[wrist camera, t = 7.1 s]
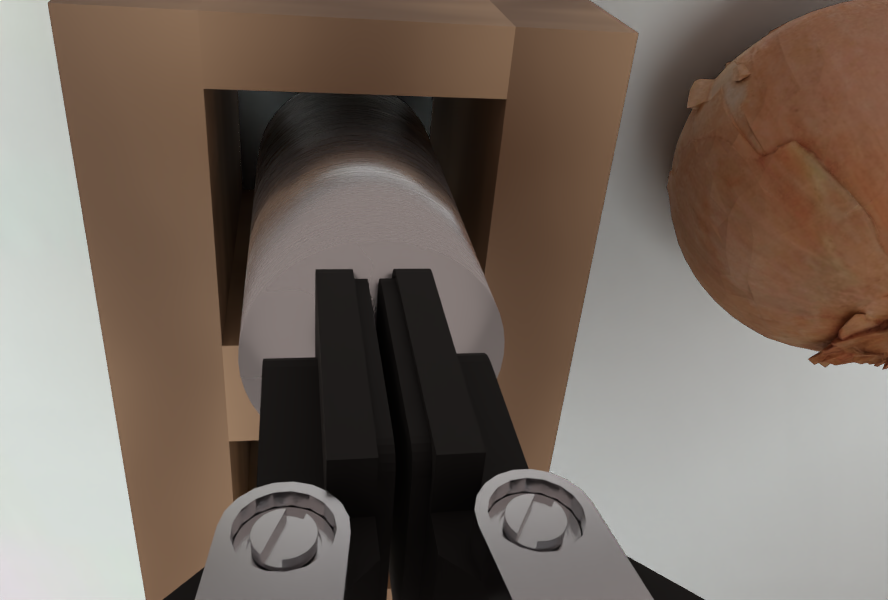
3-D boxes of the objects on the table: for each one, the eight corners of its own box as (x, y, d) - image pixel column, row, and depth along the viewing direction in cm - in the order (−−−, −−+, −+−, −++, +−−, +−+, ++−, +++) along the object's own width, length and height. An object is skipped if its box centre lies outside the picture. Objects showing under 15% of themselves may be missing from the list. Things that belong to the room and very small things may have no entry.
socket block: (529, -41, 21) (638, 33, 15) (469, 425, 29) (520, 608, 23) (132, -67, 19) (47, 2, 13) (186, 436, 28) (152, 639, 21)
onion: (736, 191, 30) (851, 445, 25) (561, 101, 24) (664, 407, 19) (1005, 6, 24) (1229, 290, 19) (857, -171, 18) (1122, 166, 13)
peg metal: (439, 84, 18) (521, 241, 11) (426, 245, 20) (488, 452, 13) (254, 77, 17) (230, 240, 11) (260, 245, 19) (244, 464, 13)
